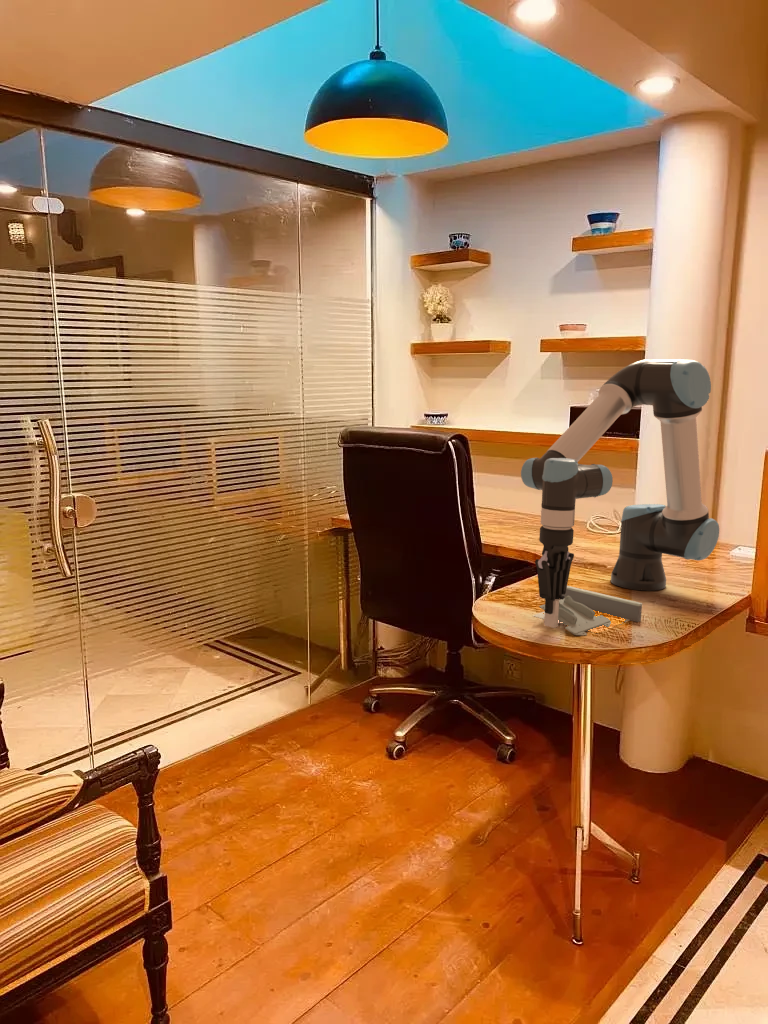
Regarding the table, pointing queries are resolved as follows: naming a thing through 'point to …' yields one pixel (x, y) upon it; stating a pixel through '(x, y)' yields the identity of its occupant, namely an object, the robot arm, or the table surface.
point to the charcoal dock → (603, 604)
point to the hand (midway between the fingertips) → (550, 625)
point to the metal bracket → (578, 616)
